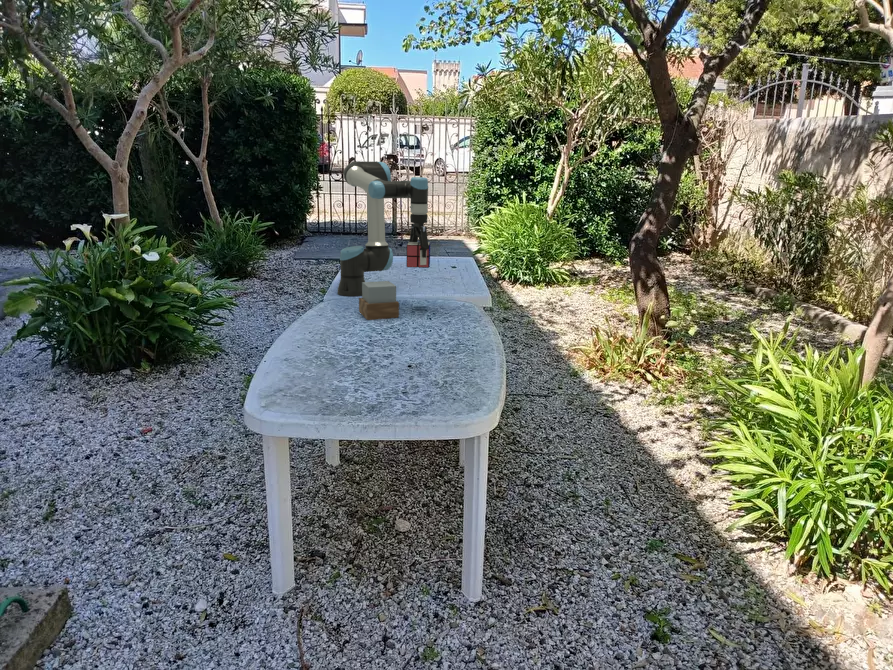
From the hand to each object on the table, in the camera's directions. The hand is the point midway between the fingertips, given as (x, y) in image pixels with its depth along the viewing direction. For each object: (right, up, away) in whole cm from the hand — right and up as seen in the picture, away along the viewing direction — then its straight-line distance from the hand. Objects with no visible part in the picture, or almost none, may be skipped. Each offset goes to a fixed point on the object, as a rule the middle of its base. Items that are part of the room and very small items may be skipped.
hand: (418, 262), depth 284 cm
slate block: (-17, -17, -8) cm, 25 cm away
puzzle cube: (0, -2, +1) cm, 2 cm away
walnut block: (-17, -24, -6) cm, 30 cm away
